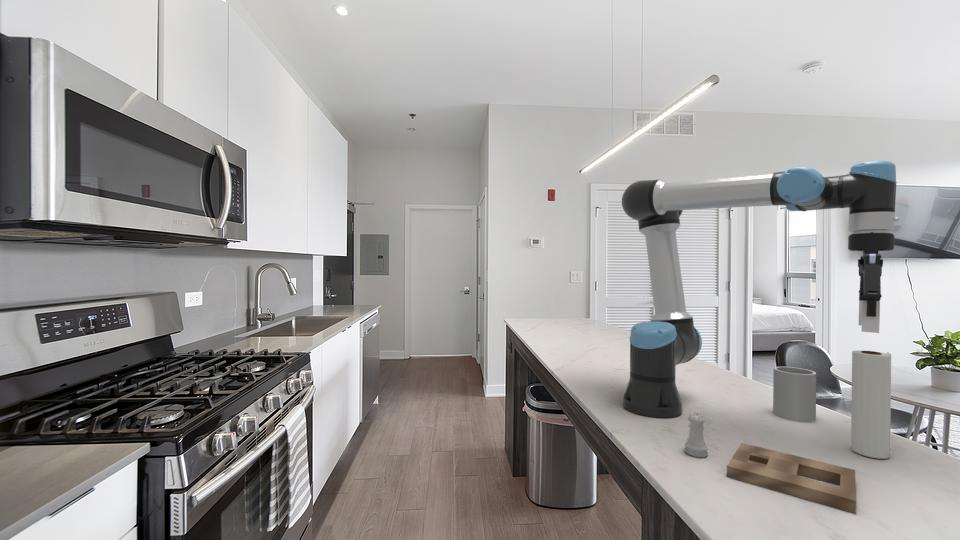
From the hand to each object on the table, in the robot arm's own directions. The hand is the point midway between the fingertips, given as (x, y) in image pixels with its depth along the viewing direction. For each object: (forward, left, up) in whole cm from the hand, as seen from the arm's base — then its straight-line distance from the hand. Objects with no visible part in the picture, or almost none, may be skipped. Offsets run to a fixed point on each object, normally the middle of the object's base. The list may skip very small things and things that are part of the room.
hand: (868, 328), depth 95 cm
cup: (-14, +12, -26) cm, 32 cm away
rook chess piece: (-27, -31, -26) cm, 49 cm away
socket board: (-11, -31, -26) cm, 42 cm away
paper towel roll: (+1, -6, -26) cm, 27 cm away
